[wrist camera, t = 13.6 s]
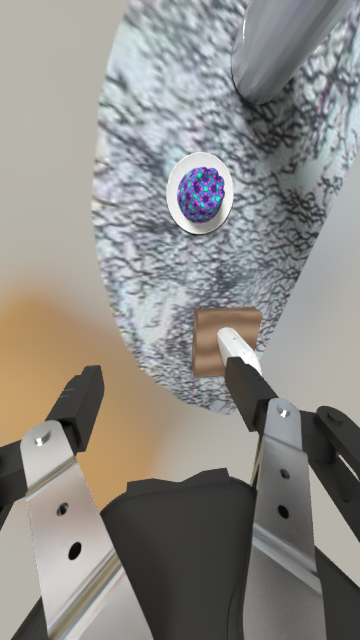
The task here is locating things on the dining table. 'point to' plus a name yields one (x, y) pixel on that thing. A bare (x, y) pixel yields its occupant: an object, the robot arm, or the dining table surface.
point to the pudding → (200, 193)
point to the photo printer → (236, 348)
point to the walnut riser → (205, 335)
